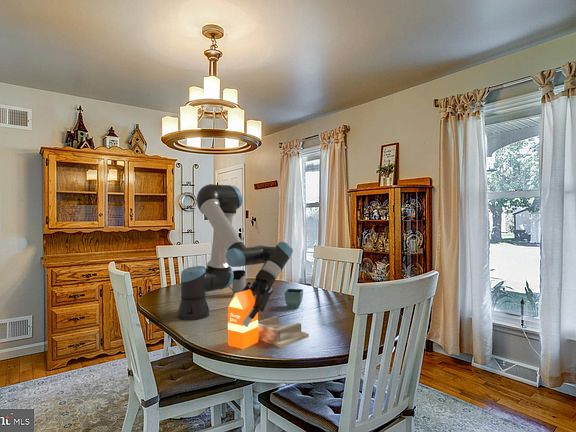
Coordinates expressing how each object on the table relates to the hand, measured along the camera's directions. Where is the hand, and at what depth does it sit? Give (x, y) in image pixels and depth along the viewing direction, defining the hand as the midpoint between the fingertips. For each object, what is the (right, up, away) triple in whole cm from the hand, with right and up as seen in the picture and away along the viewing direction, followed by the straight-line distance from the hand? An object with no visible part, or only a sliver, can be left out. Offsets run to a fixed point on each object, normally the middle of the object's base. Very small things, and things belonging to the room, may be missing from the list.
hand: (236, 322), depth 131 cm
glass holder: (-13, -9, +82) cm, 84 cm away
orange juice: (+2, -9, +2) cm, 10 cm away
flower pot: (+22, -9, +54) cm, 59 cm away
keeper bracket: (+15, -9, +11) cm, 20 cm away
